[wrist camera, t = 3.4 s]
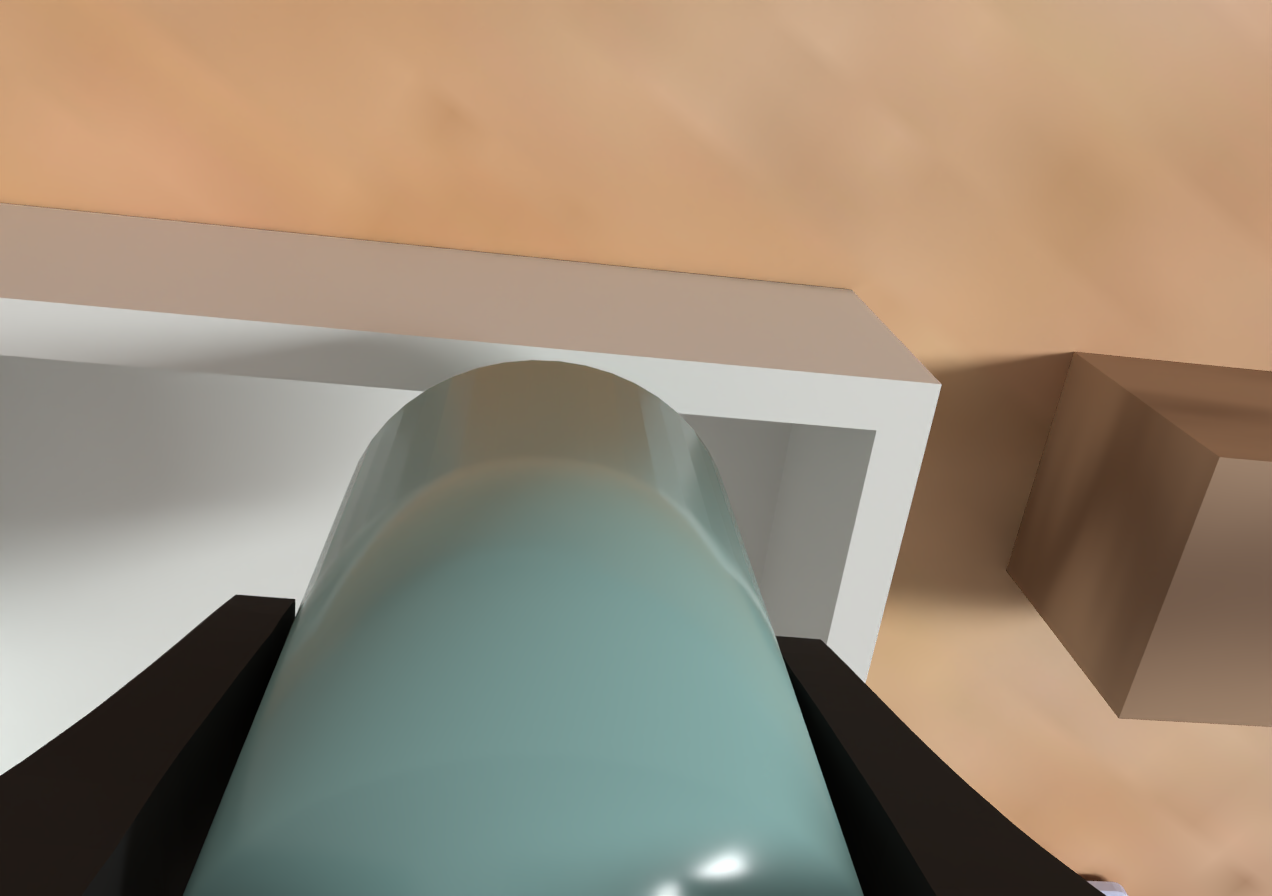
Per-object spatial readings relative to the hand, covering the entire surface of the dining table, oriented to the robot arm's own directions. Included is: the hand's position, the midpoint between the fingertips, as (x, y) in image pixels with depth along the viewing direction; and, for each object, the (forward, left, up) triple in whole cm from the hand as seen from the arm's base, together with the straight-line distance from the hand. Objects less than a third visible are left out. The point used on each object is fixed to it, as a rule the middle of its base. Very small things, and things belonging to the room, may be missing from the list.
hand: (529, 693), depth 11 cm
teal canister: (0, 0, -2) cm, 3 cm away
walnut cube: (-1, -13, -10) cm, 16 cm away
